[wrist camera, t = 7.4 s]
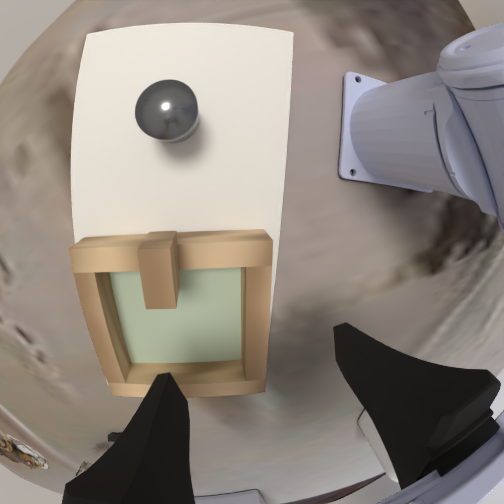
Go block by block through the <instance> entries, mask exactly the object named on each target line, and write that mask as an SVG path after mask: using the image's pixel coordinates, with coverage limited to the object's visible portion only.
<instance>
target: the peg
mask: <svg viewBox="0 0 504 504" xmlns="http://www.w3.org/2000/svg"><path fill="white" fill-rule="evenodd" d="M135 118H136V122H137V124H138V126H139V128H140V129H141V130H142V131H143V132H144V133H145V134H147V135H148V136H150V137H153V138H156V139H158V140H161V141H164V142H166V143H180V142H183V141H185V140H187V139H188V138H190V137H191V136H192V135H193V134H194V132H195V131H196V129H197V127H198V124H199V111H198V104H197V99H196V96H195V94H194V92H193V90H192V89H191V88H190V87H189V86H188V85H186V84H185V83H183V82H181V81H178V80H173V79H167V80H161V81H158V82H155V83H153V84H151V85H150V86H148V87H147V88H146V89H145V90H144V91H143V92H142V93H141V95H140V96H139V98H138V100H137V103H136V106H135Z"/></svg>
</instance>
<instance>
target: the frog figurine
mask: <svg viewBox="0 0 504 504" xmlns="http://www.w3.org/2000/svg"><path fill="white" fill-rule="evenodd" d="M7 435H8V434H7ZM8 436H9V437H11V438H13V439H15V440H18V439H16V438H14V437H12V436H10V435H8ZM3 437H4V439H5V441H6V444H5V446H4V447H3V446H2V445H1V444H0V455H2V456H3V455H4V456H6V457H7V458H9V459H10V460H12V461H14V462H17V463H19V462H22V463H24V464H25V465H27V466H29V467H31V469H36V468H41V467H42V468H44V469H49V467H48V466H47V464H48V463H47V459H46V458H45V457H43V456H42V455H41V454H39V453H38V452H36V451H35V450H34V449H32V448H30V447H29V446H27V445H26V444H25V443H24V444H25V445H26V446H27V447H29V448H30V449H31V450H32V451H33V452H34V453H35V454H33V453H32V452H30V451H29V450H28V449H27V448H26V447H24V446H21V445H17V447H16V446H15V445H14V443H13V441H12V440H11V439H10V438H9V437H7V436H4V435H3ZM18 441H20V440H18ZM20 442H22V441H20ZM10 443H11V444H12V446H13V447H14V448H12V446H11V444H10ZM22 443H23V442H22ZM34 461H35V462H36V463H35V462H34Z"/></svg>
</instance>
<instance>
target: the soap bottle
mask: <svg viewBox="0 0 504 504" xmlns="http://www.w3.org/2000/svg"><path fill="white" fill-rule="evenodd" d="M194 499H195V504H265V501H264V499H263V497H262V496H261V495H260V493H259V492H258V490H250V491H244V492H238V493H232V494H224V495H216V496H206V497H194Z"/></svg>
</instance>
